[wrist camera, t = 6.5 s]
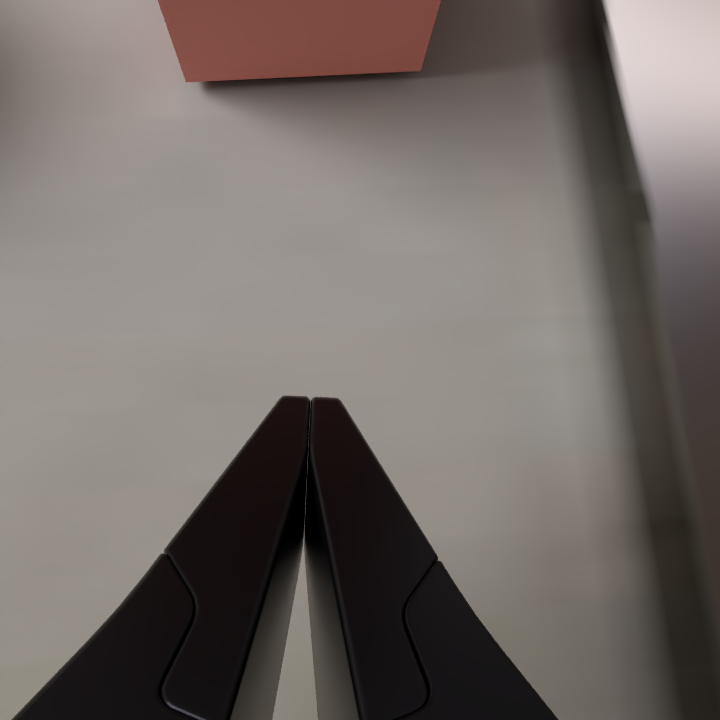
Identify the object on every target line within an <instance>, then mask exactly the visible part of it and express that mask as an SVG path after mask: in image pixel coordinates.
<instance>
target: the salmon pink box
mask: <svg viewBox="0 0 720 720" xmlns="http://www.w3.org/2000/svg"><path fill="white" fill-rule="evenodd" d="M158 2H159V5H160V8H161V11H162V14H163V16H164V19H165V22H166V25H167V28H168V31H169V34H170V37H171V40H172V43H173V45H174V48H175V51H176V54H177V57H178V60H179V63H180V66H181V69H182V71H183V74H184V77H185V80H186V82H200V81H221V80H242V79H262V78H283V77H304V76H325V75H346V74H366V73H387V72H408V71H421V69H422V65H423V62H424V58H425V55H426V52H427V48H428V45H429V41H430V38H431V34H432V31H433V27H434V24H435V20H436V17H437V13H438V10H439V6H440V3H441V0H158Z"/></svg>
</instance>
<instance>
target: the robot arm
mask: <svg viewBox="0 0 720 720" xmlns="http://www.w3.org/2000/svg"><path fill="white" fill-rule="evenodd" d="M309 420H310V427H309ZM308 441H309V448H308ZM307 461H308V469H307ZM306 482H307V490H306ZM305 503H306V510H305ZM304 523H305V534H304ZM303 538H304V548H305V565H306V578H307V590H308V602H309V614H310V626H311V638H312V650H313V663H314V675H315V687H316V699H317V711H318V720H558V719H557V717H556V716H555V715H554V714H553V712H552V711H551V710H550V709H549V707H548V706H547V705H546V704H545V702H544V701H543V700H542V699H541V697H540V696H539V695H538V694H537V692H536V691H535V690H534V689H533V687H532V686H531V685H530V684H529V682H528V681H527V680H526V679H525V677H524V676H523V675H522V674H521V672H520V671H519V670H518V669H517V667H516V666H515V665H514V664H513V662H512V661H511V660H510V659H509V657H508V656H507V655H506V654H505V652H504V651H503V650H502V649H501V647H500V646H499V645H498V643H497V642H496V641H495V639H494V638H493V637H492V636H491V634H490V633H489V632H488V630H487V629H486V628H485V626H484V625H483V624H482V622H481V621H480V620H479V619H478V617H477V616H476V615H475V613H474V612H473V610H472V609H471V607H470V606H469V604H468V603H467V601H466V600H465V598H464V597H463V595H462V594H461V592H460V591H459V589H458V588H457V586H456V585H455V583H454V582H453V580H452V578H451V577H450V575H449V573H448V572H447V570H446V569H445V567H444V565H443V564H442V562H441V561H438V556H437V555H436V553H435V551H434V550H433V548H432V546H431V545H430V543H429V542H428V540H427V538H426V537H425V535H424V534H423V532H422V530H421V529H420V527H419V526H418V524H417V522H416V521H415V519H414V518H413V516H412V514H411V513H410V511H409V509H408V508H407V506H406V505H405V503H404V501H403V500H402V498H401V497H400V495H399V493H398V492H397V490H396V489H395V487H394V485H393V484H392V482H391V481H390V479H389V477H388V476H387V474H386V472H385V471H384V469H383V468H382V466H381V464H380V463H379V461H378V460H377V458H376V456H375V455H374V453H373V452H372V450H371V448H370V447H369V445H368V444H367V442H366V440H365V439H364V437H363V436H362V434H361V432H360V431H359V429H358V427H357V426H356V424H355V423H354V421H353V419H352V418H351V416H350V415H349V413H348V411H347V410H346V408H345V407H344V405H343V403H342V402H341V401H340V399H338V398H330V397H314V398H312V400H311V407H310V399H309V398H308V397H306V396H283V397H281V398H280V399H279V400H278V402H277V403H276V404H275V406H274V407H273V408H272V410H271V411H270V412H269V413H268V415H267V416H266V417H265V419H264V420H263V421H262V423H261V424H260V425H259V427H258V428H257V429H256V430H255V432H254V433H253V434H252V436H251V437H250V438H249V440H248V441H247V442H246V444H245V445H244V446H243V447H242V449H241V450H240V451H239V453H238V454H237V455H236V457H235V458H234V459H233V461H232V462H231V463H230V464H229V466H228V467H227V468H226V470H225V471H224V472H223V474H222V475H221V476H220V478H219V479H218V480H217V481H216V483H215V484H214V485H213V487H212V488H211V489H210V491H209V492H208V493H207V495H206V496H205V497H204V498H203V500H202V501H201V502H200V504H199V505H198V506H197V508H196V509H195V510H194V512H193V513H192V514H191V515H190V517H189V518H188V519H187V521H186V522H185V523H184V525H183V526H182V527H181V528H180V530H179V531H178V532H177V534H176V535H175V536H174V538H173V539H172V540H171V542H170V543H169V544H168V545H167V547H166V548H165V550H164V554H160V555H159V557H158V558H157V559H156V561H155V562H154V563H153V565H152V566H151V567H150V569H149V570H148V571H147V573H146V574H145V575H144V576H143V578H142V579H141V580H140V581H139V583H138V584H137V585H136V586H135V587H134V589H133V590H132V591H131V592H130V594H129V595H128V596H127V597H126V599H125V600H124V601H123V602H122V603H121V605H120V606H119V607H118V608H117V609H116V610H115V612H114V613H113V614H112V615H111V616H110V617H109V618H108V619H107V620H106V621H105V622H104V623H103V625H102V626H101V627H100V628H99V629H98V630H97V631H96V632H95V633H94V634H93V635H92V636H91V638H90V639H89V640H88V641H87V642H86V643H85V644H84V645H83V646H82V647H81V648H80V649H79V650H78V651H77V652H76V653H75V654H74V655H73V656H72V658H71V659H70V660H69V661H68V662H67V663H66V664H65V665H64V666H63V667H62V668H61V669H60V670H59V671H58V672H57V673H56V674H55V675H54V676H53V677H52V678H51V679H50V680H49V681H48V682H47V683H46V684H45V686H44V687H43V688H42V689H41V690H40V691H39V692H38V693H37V694H36V695H35V696H34V697H33V698H32V699H31V700H30V701H29V702H28V703H27V704H26V705H25V706H24V707H23V708H22V709H21V710H20V711H19V712H18V713H17V715H16V716H15V717H14V718H13V719H12V720H272V717H273V711H274V706H275V700H276V695H277V689H278V684H279V678H280V673H281V667H282V661H283V656H284V650H285V645H286V639H287V634H288V628H289V623H290V617H291V611H292V606H293V600H294V595H295V589H296V584H297V578H298V573H299V567H300V561H301V555H302V548H303Z"/></svg>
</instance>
